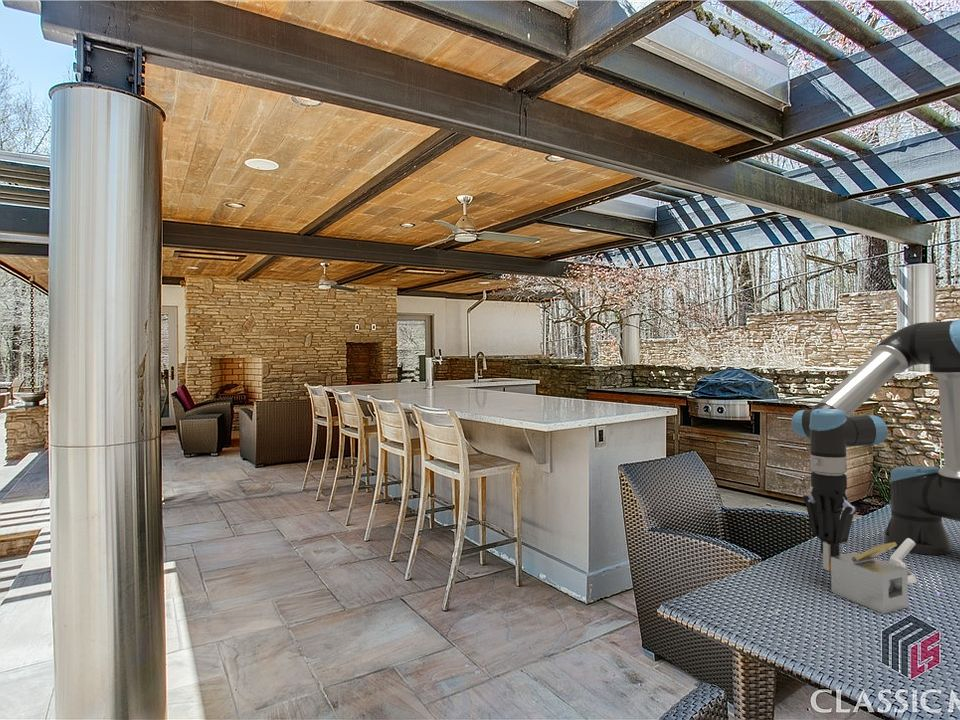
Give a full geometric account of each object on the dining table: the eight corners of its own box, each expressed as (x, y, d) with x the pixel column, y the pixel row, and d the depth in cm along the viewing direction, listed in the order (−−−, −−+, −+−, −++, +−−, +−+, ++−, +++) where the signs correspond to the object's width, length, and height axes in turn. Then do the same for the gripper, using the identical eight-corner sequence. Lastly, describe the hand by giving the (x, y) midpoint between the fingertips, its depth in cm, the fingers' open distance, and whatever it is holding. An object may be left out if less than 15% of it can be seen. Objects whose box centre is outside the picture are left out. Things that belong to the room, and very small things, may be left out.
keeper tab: (872, 559, 131) (868, 554, 132) (898, 546, 125) (894, 541, 126) (854, 563, 129) (850, 558, 129) (879, 549, 123) (875, 544, 124)
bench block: (855, 587, 136) (854, 551, 136) (908, 607, 125) (907, 569, 125) (831, 592, 133) (831, 556, 133) (883, 613, 122) (882, 574, 122)
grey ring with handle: (944, 562, 137) (926, 548, 135) (912, 599, 138) (893, 586, 137) (918, 545, 144) (900, 532, 143) (887, 581, 146) (869, 568, 144)
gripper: (793, 469, 142) (795, 561, 142) (842, 479, 130) (844, 580, 130) (815, 466, 145) (817, 557, 145) (865, 476, 133) (867, 575, 133)
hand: (830, 568), depth 138 cm, fingers closed
